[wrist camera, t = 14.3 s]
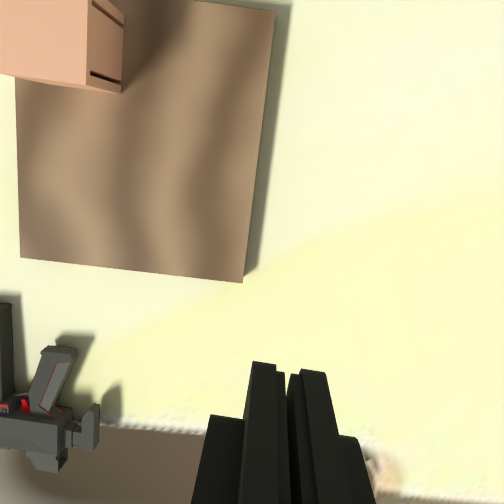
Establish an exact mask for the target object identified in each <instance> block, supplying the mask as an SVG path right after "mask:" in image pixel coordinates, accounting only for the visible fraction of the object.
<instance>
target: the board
mask: <svg viewBox="0 0 504 504" xmlns="http://www.w3.org/2000/svg"><path fill="white" fill-rule="evenodd" d="M108 1H109V2H110V3H111V4H112V5H114V6H115V7H116V8H117V9H118V10H119V11H120V12H122V13H123V14H124V24H118V23H116V24H118V25H119V26H120V27H121V28H123V29H124V30H123V53H122V75H121V81H117V80H112V79H109V78H106V77H103V76H100V75H98V74H95V73H92V72H90V75H91V76H94V77H97V78H100V79H103V80H106V81H109V82H112V83H115V84H118V85H121V94H115V93H108V92H101V91H94V90H86V89H79V88H72V87H65V86H57V85H50V84H45V83H40V82H36V81H31V80H27V79H22V78H18V77H15V98H16V132H17V166H18V199H19V233H20V257H21V258H30V259H38V260H47V261H55V262H64V263H72V264H81V265H90V266H98V267H107V268H115V269H124V270H132V271H141V272H149V273H158V274H167V275H175V276H184V277H192V278H201V279H209V280H218V281H226V282H235V283H243V275H244V267H245V259H246V251H247V243H248V235H249V226H250V218H251V210H252V202H253V194H254V186H255V178H256V169H257V161H258V153H259V145H260V137H261V129H262V121H263V112H264V104H265V96H266V88H267V80H268V72H269V63H270V55H271V47H272V39H273V31H274V23H275V15H276V11H269V10H261V9H254V8H246V7H239V6H232V5H224V4H217V3H209V2H202V1H194V0H108Z"/></svg>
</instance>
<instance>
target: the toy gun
mask: <svg viewBox="0 0 504 504" xmlns="http://www.w3.org/2000/svg"><path fill="white" fill-rule="evenodd" d="M11 306H12V304H9V303H0V448H1V449H8V450H9V449H10V448H12V449H19V450H26V457H30V459H31V460H32V462H33V464H34V466H35V468H36V470H41V471H47V472H54V473H58V472H59V471H60V469H61V468H62V467H63V465H64V464H65V462H66V461H67V460H68V448H72V447H73V445H76V446H81V449H83V450H90V451H93V450H94V449H95V447H96V446H97V444H98V443H99V422H100V404H96V403H94V404H93V405H92V406H91V407H90V408H89V410H88V411H87V412H86V413H85V415H84V416H83V417H82V426H80V425H78V423H76V422H72V408H66V407H59V406H55V403H56V400H57V398H58V396H59V394H60V391H61V389H62V387H63V385H64V382H65V380H66V378H67V376H68V373H69V371H70V369H71V367H72V365H73V362H74V360H75V358H76V357H77V356H78V350H77V349H76V348H68V347H58V346H49V345H48V346H47V347H46V348H44V349H43V350H42V351H41V353H40V354H41V355H42V357H41V359H40V362H39V365H38V368H37V371H36V374H35V376H34V379H33V382H32V385H31V388H30V390H29V391H27V392H20V393H18V392H14V386H13V333H12V313H11ZM22 395H28V396H29V402H28V401H27V399H25V398H24V397H23V398H22V399H21V396H22ZM21 400H22V401H21Z"/></svg>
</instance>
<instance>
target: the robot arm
mask: <svg viewBox="0 0 504 504" xmlns="http://www.w3.org/2000/svg"><path fill="white" fill-rule="evenodd" d="M191 504H376V502H375V498H374V495H373V491H372V488H371V484H370V480H369V477H368V473H367V470H366V466H365V462H364V459H363V455H362V452H361V448H360V444H359V442H358V439H356V438H355V437H350V436H344V435H339V432H338V428H337V423H336V419H335V414H334V410H333V405H332V400H331V396H330V391H329V387H328V382H327V377H326V374H325V372H320V371H313V370H307V369H301V370H300V372H299V375H298V374H292V373H291V375H290V379H289V384H288V389H287V394H286V391H285V373H284V372H279V371H276V364H269V363H263V362H257V361H253V362H252V368H251V373H250V379H249V385H248V391H247V397H246V403H245V409H244V414H243V419H238V418H231V417H225V416H219V415H212V414H211V415H210V419H209V423H208V428H207V432H206V437H205V441H204V446H203V451H202V455H201V460H200V464H199V469H198V474H197V478H196V483H195V487H194V492H193V496H192V501H191Z"/></svg>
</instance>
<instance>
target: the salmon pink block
mask: <svg viewBox="0 0 504 504" xmlns="http://www.w3.org/2000/svg"><path fill="white" fill-rule="evenodd" d="M116 23H118V24H124V14H123V13H122V12H120V11H119V10H118V9H117V8H116V7H115V6H114V5H112V4H111V3H110V2H109V1H108V0H0V74H4V75H9V76H13V77H18V78H22V79H27V80H31V81H36V82H40V83H45V84H50V85H57V86H65V87H72V88H79V89H86V90H94V91H101V92H108V93H115V94H121V85H118V84H115V83H112V82H109V81H106V80H103V79H100V78H97V77H94V76H91V75H90V72H92V73H95V74H98V75H100V76H103V77H106V78H109V79H112V80H117V81H121V75H122V53H123V30H124V29H123V28H121V27H120V26H119V25H118V24H116Z"/></svg>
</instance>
